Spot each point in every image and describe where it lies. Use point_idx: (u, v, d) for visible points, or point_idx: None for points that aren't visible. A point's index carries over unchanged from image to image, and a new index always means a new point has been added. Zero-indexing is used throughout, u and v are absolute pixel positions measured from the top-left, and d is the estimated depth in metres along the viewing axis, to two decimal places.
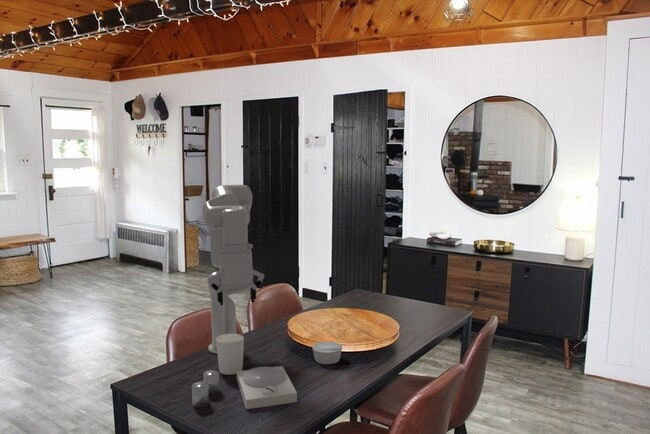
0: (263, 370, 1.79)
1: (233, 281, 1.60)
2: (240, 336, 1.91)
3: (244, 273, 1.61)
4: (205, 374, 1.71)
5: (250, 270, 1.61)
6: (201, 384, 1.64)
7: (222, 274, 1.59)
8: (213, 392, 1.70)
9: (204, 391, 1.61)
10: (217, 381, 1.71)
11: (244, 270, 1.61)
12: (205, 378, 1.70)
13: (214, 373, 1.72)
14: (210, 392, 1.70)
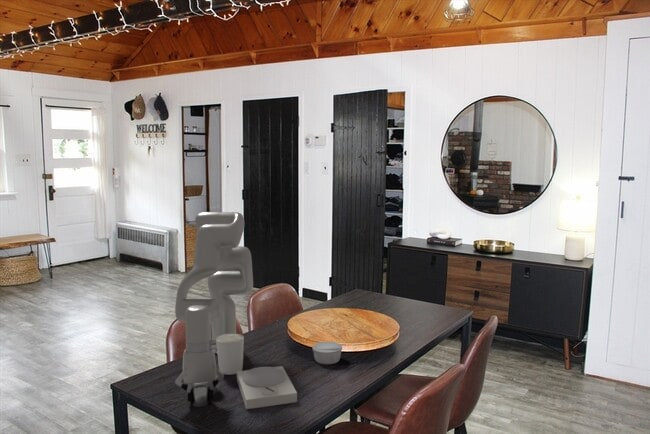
0: (263, 370, 1.79)
1: (196, 379, 1.60)
2: (240, 336, 1.91)
3: (207, 371, 1.61)
4: None
5: (213, 367, 1.61)
6: (201, 384, 1.64)
7: (185, 372, 1.59)
8: (213, 392, 1.70)
9: (204, 391, 1.61)
10: None
11: (207, 368, 1.61)
12: None
13: None
14: None
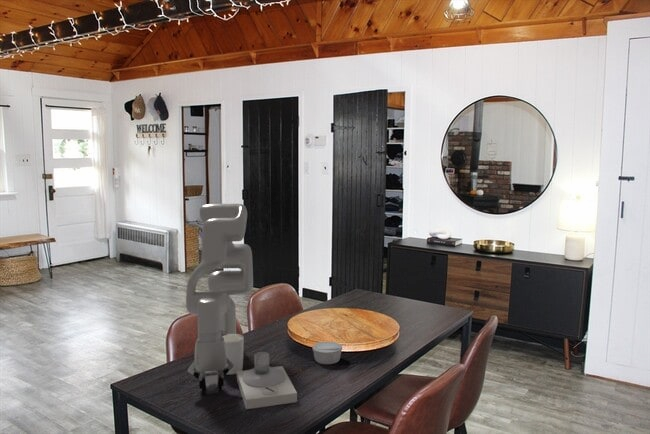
0: None
1: (207, 367, 1.69)
2: (240, 336, 1.91)
3: (218, 359, 1.70)
4: (206, 375, 1.70)
5: (224, 356, 1.70)
6: (262, 353, 1.78)
7: (197, 361, 1.68)
8: (216, 391, 1.71)
9: (266, 360, 1.76)
10: None
11: (218, 357, 1.69)
12: (208, 379, 1.69)
13: (215, 372, 1.72)
14: (214, 391, 1.70)
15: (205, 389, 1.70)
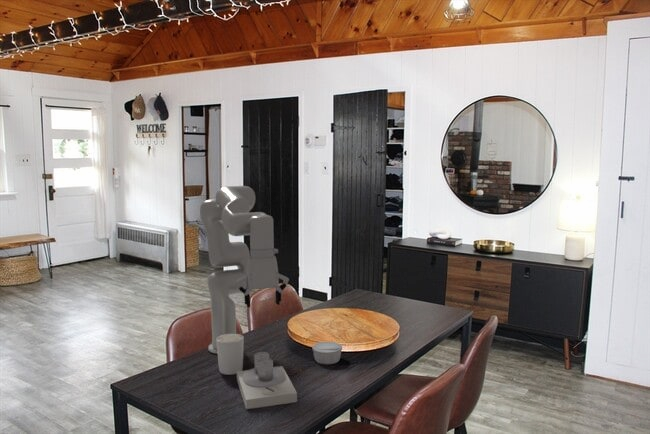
0: None
1: (260, 284, 1.68)
2: (240, 336, 1.91)
3: (270, 277, 1.68)
4: (261, 363, 1.70)
5: (276, 274, 1.69)
6: (262, 353, 1.78)
7: (249, 278, 1.67)
8: (271, 379, 1.71)
9: None
10: None
11: (270, 274, 1.68)
12: (263, 366, 1.69)
13: (268, 360, 1.72)
14: (268, 379, 1.70)
15: (260, 377, 1.70)
